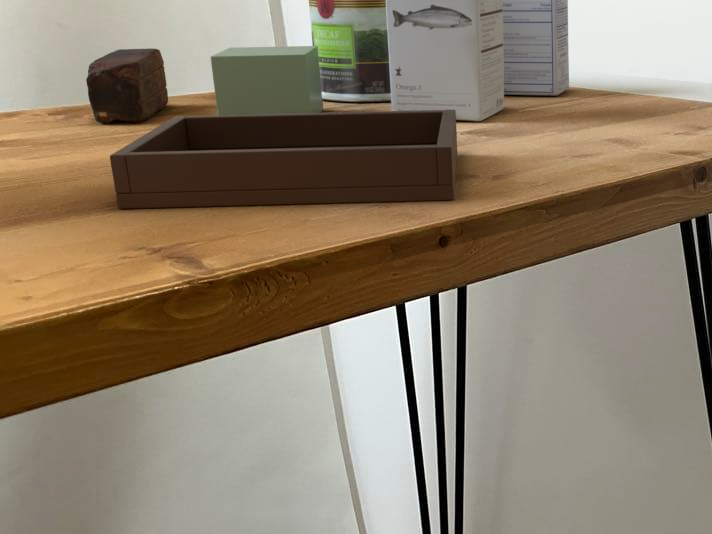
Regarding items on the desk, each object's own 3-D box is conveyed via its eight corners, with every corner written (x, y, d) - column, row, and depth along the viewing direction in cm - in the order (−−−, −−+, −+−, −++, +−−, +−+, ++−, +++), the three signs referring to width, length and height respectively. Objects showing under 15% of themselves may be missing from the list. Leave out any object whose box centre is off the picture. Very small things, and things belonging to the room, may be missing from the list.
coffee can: (374, 106, 92) (361, -79, 87) (291, 97, 98) (274, -76, 93) (456, 92, 100) (448, -79, 94) (374, 84, 106) (363, -77, 100)
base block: (218, 125, 84) (210, 56, 82) (237, 111, 91) (229, 47, 89) (311, 122, 85) (305, 54, 83) (323, 109, 91) (317, 45, 89)
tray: (117, 209, 58) (108, 155, 57) (180, 160, 71) (174, 116, 70) (453, 200, 59) (451, 146, 58) (457, 153, 71) (455, 109, 70)
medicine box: (570, 90, 100) (569, -13, 96) (557, 97, 96) (556, -10, 92) (486, 89, 102) (483, -12, 98) (470, 95, 98) (466, -10, 94)
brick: (122, 106, 95) (113, 48, 93) (170, 104, 95) (162, 47, 93) (91, 126, 85) (80, 62, 83) (145, 124, 85) (135, 60, 83)
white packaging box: (389, 120, 85) (377, -59, 80) (421, 107, 91) (412, -60, 86) (482, 122, 83) (475, -60, 78) (508, 108, 90) (503, -61, 85)
